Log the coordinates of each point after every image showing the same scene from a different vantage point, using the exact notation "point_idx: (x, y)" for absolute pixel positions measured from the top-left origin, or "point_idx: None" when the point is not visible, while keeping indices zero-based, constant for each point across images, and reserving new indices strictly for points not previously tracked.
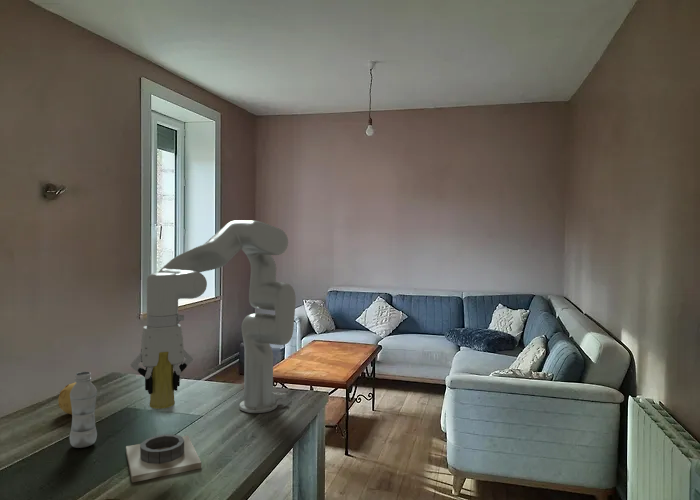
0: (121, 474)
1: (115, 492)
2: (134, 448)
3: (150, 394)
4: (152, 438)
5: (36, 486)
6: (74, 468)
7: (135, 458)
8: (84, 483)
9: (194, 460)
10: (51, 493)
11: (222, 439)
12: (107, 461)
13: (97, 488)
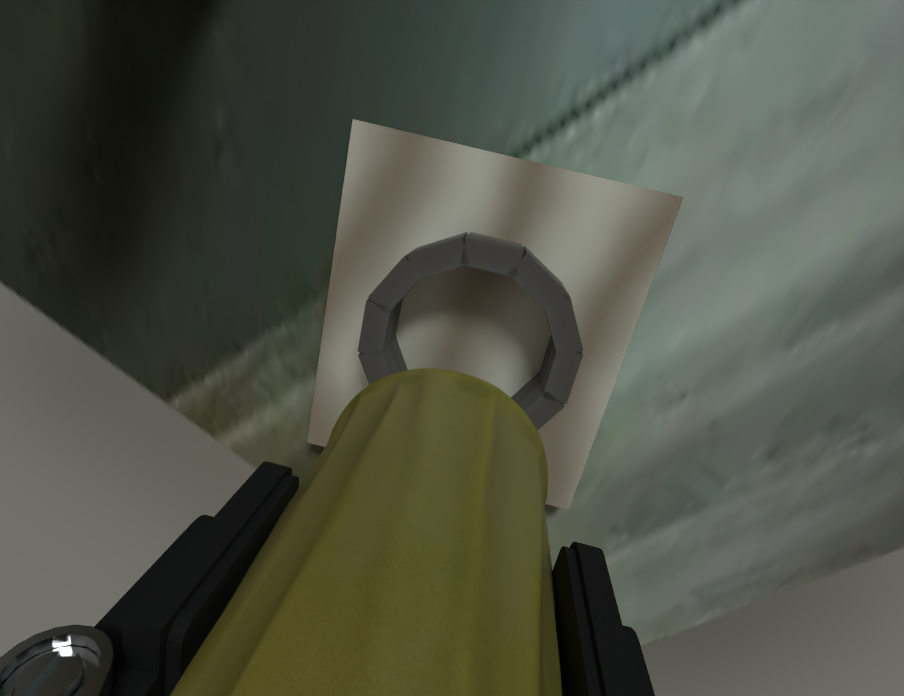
0: (297, 344)
1: (256, 456)
2: (382, 180)
3: (307, 475)
4: (443, 265)
5: (13, 232)
6: (136, 158)
7: (357, 298)
8: (169, 325)
9: (554, 479)
10: (67, 325)
11: (819, 303)
12: (267, 179)
13: (207, 392)
